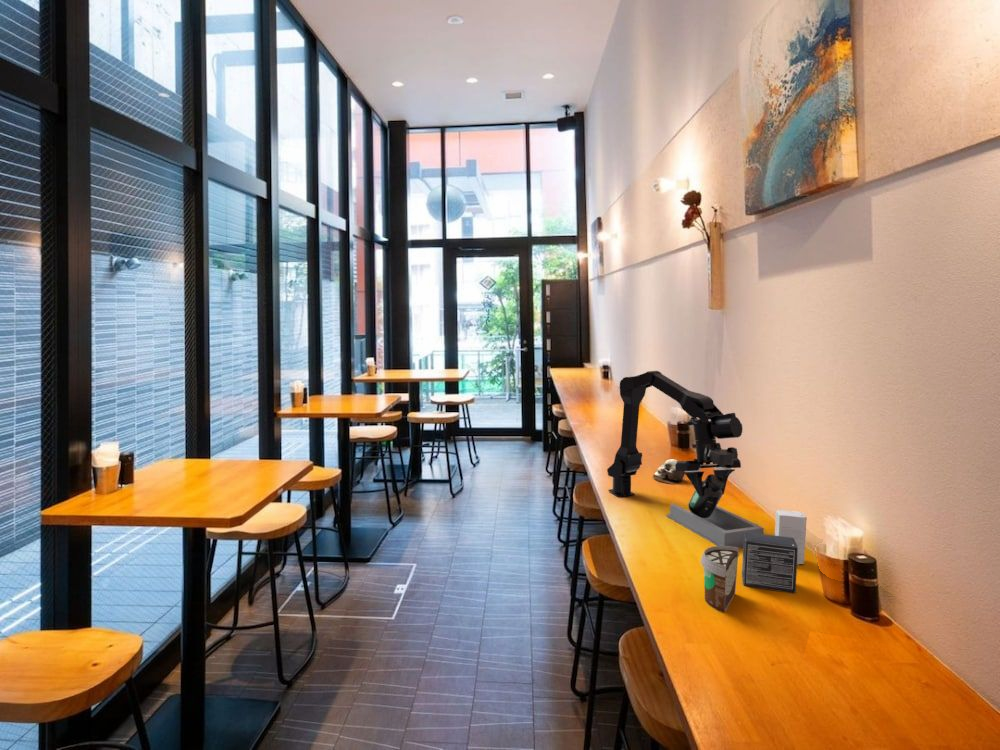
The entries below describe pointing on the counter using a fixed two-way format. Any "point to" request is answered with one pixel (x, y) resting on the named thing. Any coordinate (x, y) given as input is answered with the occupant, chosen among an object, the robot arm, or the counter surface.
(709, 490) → the supplement bottle
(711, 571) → the food container
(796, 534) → the skincare box
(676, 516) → the gray rectangular tray
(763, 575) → the small box
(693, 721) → the counter surface
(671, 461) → the skull
